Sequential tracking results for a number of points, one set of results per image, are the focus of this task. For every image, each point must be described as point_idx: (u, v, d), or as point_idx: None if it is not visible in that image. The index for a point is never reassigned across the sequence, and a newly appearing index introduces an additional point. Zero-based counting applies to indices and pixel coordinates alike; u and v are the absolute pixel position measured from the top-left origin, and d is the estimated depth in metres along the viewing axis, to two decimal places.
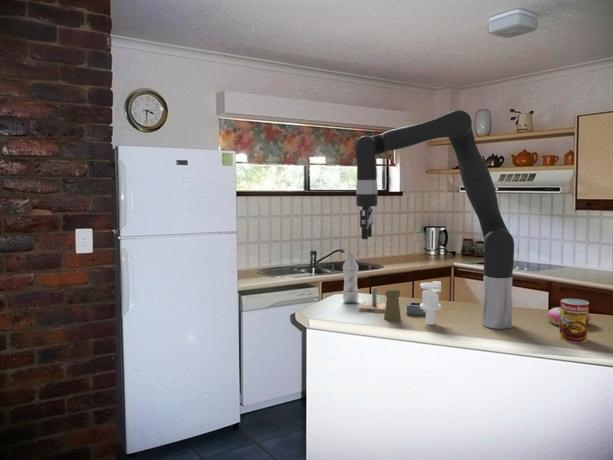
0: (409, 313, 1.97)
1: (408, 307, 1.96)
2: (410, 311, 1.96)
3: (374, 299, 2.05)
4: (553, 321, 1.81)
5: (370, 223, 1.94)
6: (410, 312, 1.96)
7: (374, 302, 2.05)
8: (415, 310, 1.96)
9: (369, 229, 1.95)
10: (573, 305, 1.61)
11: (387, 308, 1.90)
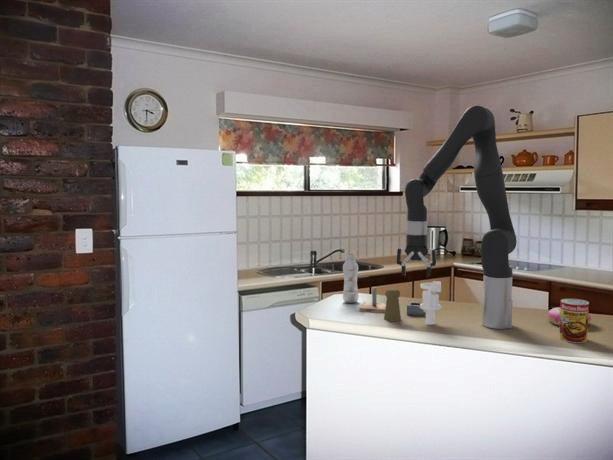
0: (409, 313, 1.97)
1: (408, 307, 1.96)
2: (410, 311, 1.96)
3: (374, 299, 2.05)
4: (553, 321, 1.81)
5: None
6: (410, 312, 1.96)
7: (374, 302, 2.05)
8: (415, 310, 1.96)
9: (405, 268, 1.99)
10: (573, 305, 1.61)
11: (387, 308, 1.90)
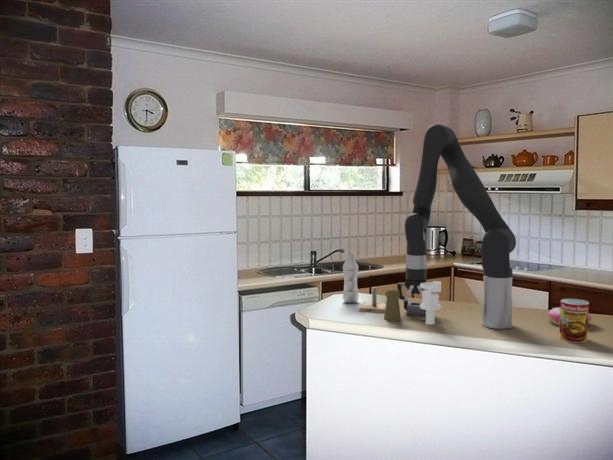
0: (409, 313, 1.97)
1: (408, 307, 1.96)
2: (410, 311, 1.96)
3: (374, 299, 2.05)
4: (554, 321, 1.81)
5: None
6: (410, 312, 1.96)
7: (374, 302, 2.05)
8: (415, 310, 1.96)
9: (407, 303, 2.00)
10: (573, 305, 1.61)
11: (387, 308, 1.90)
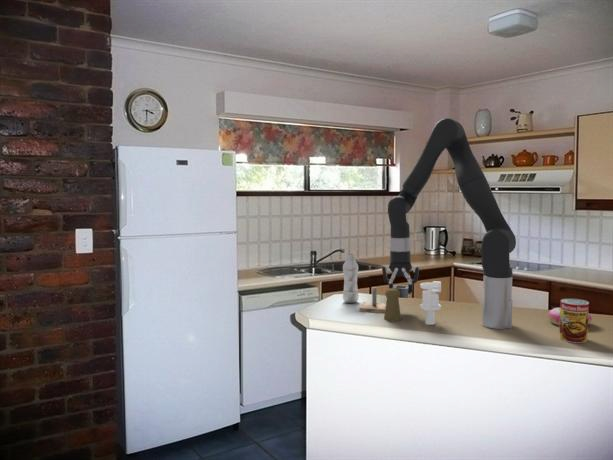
0: None
1: None
2: None
3: (374, 299, 2.05)
4: (554, 321, 1.81)
5: None
6: None
7: (374, 302, 2.05)
8: (400, 292, 1.97)
9: None
10: (573, 305, 1.61)
11: (387, 308, 1.90)
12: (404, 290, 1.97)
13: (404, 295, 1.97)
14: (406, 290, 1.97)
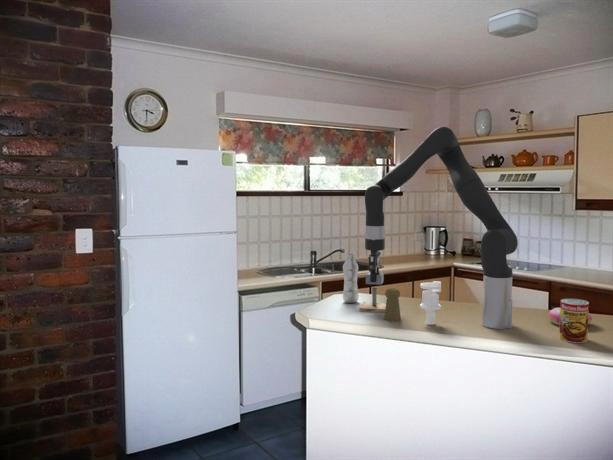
0: (381, 282, 2.03)
1: (381, 277, 2.02)
2: (381, 280, 2.03)
3: (374, 299, 2.05)
4: (554, 321, 1.81)
5: (371, 268, 2.02)
6: (381, 281, 2.03)
7: (374, 302, 2.05)
8: (382, 278, 2.05)
9: None
10: (573, 305, 1.61)
11: (387, 308, 1.90)
12: (383, 275, 2.06)
13: (383, 280, 2.06)
14: (383, 274, 2.07)
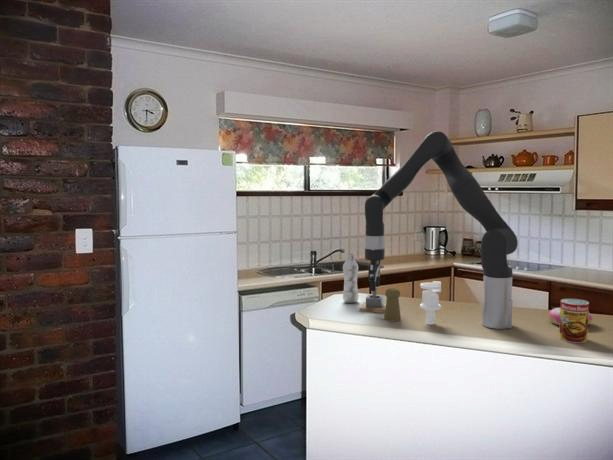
0: (381, 305, 2.04)
1: (381, 300, 2.03)
2: (381, 303, 2.04)
3: None
4: (554, 321, 1.81)
5: None
6: (381, 304, 2.04)
7: None
8: (382, 301, 2.05)
9: None
10: (573, 305, 1.61)
11: (387, 308, 1.90)
12: (382, 298, 2.07)
13: (382, 302, 2.07)
14: None
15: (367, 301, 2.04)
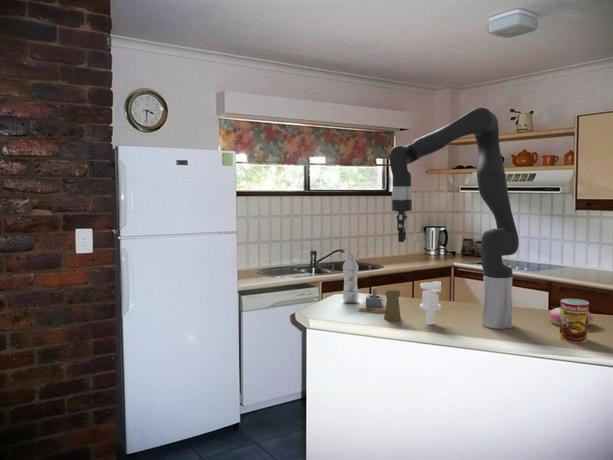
0: (381, 305, 2.04)
1: (381, 300, 2.03)
2: (381, 303, 2.04)
3: None
4: (555, 321, 1.81)
5: None
6: (381, 304, 2.04)
7: None
8: (382, 301, 2.05)
9: None
10: (573, 305, 1.61)
11: (387, 308, 1.90)
12: (382, 298, 2.07)
13: (382, 302, 2.07)
14: None
15: (367, 301, 2.04)
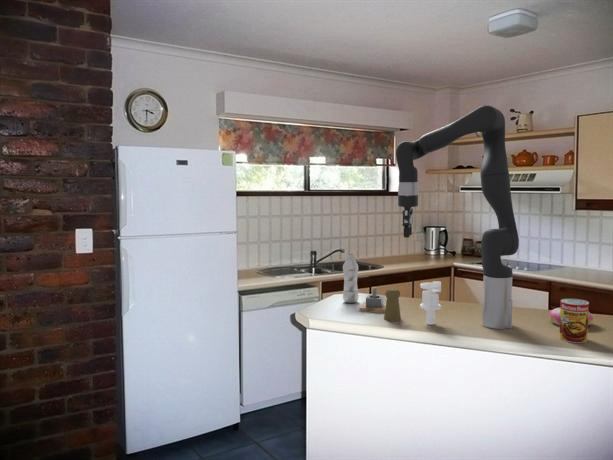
0: (381, 305, 2.04)
1: (381, 300, 2.03)
2: (381, 303, 2.04)
3: None
4: (555, 321, 1.81)
5: None
6: (381, 304, 2.04)
7: None
8: (382, 301, 2.05)
9: None
10: (573, 305, 1.61)
11: (387, 308, 1.90)
12: (382, 298, 2.07)
13: (382, 302, 2.07)
14: None
15: (367, 301, 2.04)
